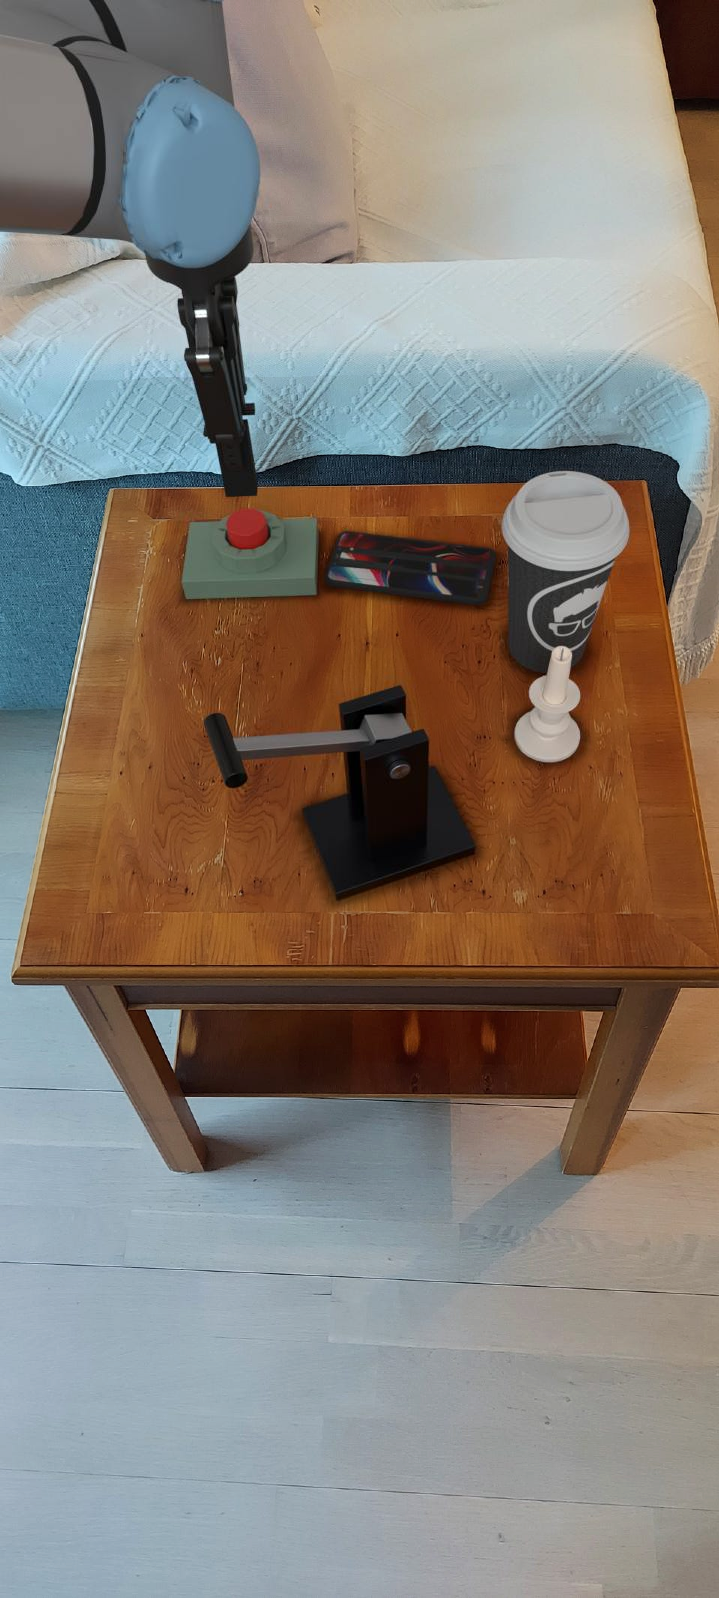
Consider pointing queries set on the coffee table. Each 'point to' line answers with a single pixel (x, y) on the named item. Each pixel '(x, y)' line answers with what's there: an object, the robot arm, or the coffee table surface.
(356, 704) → the bracket
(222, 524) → the button box
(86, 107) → the robot arm
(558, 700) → the candle
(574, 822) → the coffee table surface
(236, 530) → the button
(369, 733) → the lever
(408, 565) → the smartphone
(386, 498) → the coffee table surface
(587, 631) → the coffee cup
